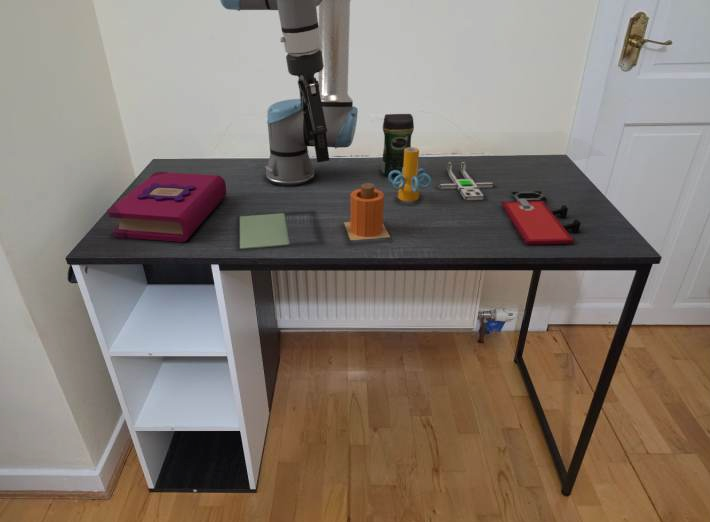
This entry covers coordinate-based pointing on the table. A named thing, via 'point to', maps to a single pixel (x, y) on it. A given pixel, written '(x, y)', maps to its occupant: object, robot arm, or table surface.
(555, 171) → the table surface
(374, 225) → the orange hollow tube
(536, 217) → the red board with handle
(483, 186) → the robot figure
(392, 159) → the coffee jar
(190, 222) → the book
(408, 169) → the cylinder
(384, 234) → the peg stand
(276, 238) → the mat
